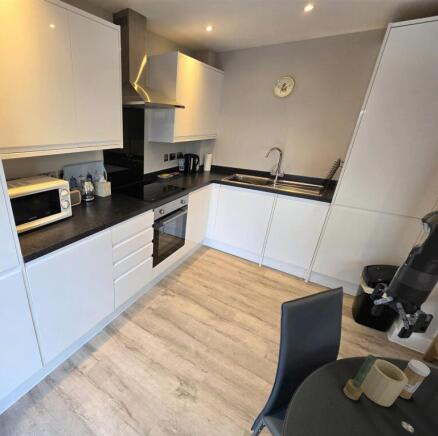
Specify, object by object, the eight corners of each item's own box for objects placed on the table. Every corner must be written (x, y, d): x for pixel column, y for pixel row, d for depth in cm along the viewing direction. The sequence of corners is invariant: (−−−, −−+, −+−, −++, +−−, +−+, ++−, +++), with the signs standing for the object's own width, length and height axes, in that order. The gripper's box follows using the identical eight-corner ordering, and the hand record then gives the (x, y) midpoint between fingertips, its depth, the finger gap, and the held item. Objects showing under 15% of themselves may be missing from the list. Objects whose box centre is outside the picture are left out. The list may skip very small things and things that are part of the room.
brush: (356, 391, 82) (378, 355, 75) (359, 402, 79) (383, 365, 72) (342, 385, 84) (362, 349, 77) (344, 396, 80) (366, 359, 74)
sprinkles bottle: (388, 387, 84) (407, 360, 79) (398, 384, 85) (416, 357, 80) (404, 401, 80) (424, 373, 75) (413, 398, 81) (434, 370, 76)
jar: (386, 388, 84) (401, 366, 79) (396, 411, 77) (412, 389, 73) (357, 376, 87) (370, 355, 83) (363, 398, 80) (377, 375, 76)
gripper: (457, 299, 60) (424, 346, 67) (401, 267, 73) (378, 308, 80) (428, 298, 60) (398, 345, 66) (377, 265, 73) (356, 307, 79)
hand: (387, 325), depth 73 cm, fingers open, 8 cm apart
